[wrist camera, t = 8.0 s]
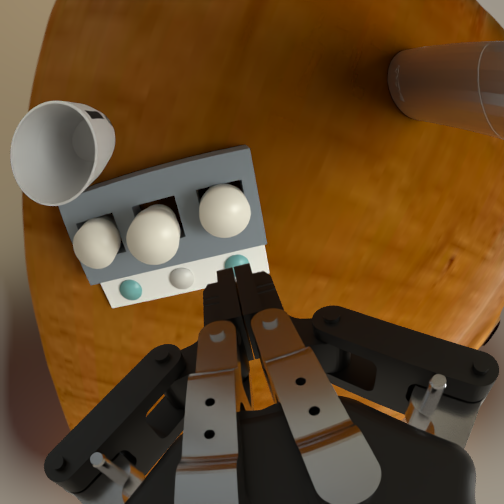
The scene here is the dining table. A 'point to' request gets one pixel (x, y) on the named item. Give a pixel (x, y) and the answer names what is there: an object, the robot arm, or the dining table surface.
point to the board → (188, 201)
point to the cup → (60, 151)
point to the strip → (180, 277)
